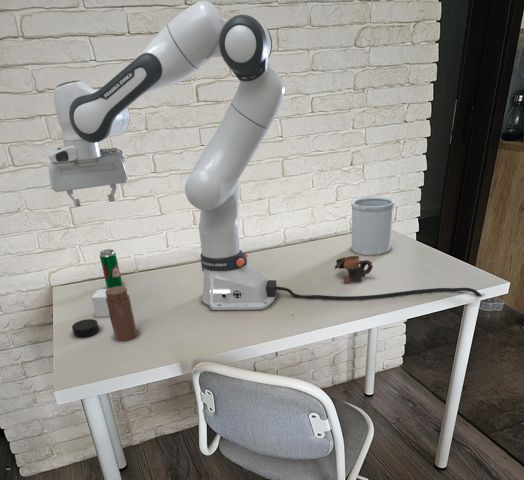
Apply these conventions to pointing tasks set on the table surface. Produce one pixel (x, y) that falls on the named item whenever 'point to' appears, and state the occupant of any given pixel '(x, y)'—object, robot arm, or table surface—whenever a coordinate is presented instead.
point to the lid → (85, 328)
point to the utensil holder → (372, 224)
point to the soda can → (110, 268)
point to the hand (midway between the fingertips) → (95, 203)
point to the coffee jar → (121, 313)
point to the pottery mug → (353, 268)
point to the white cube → (100, 303)
